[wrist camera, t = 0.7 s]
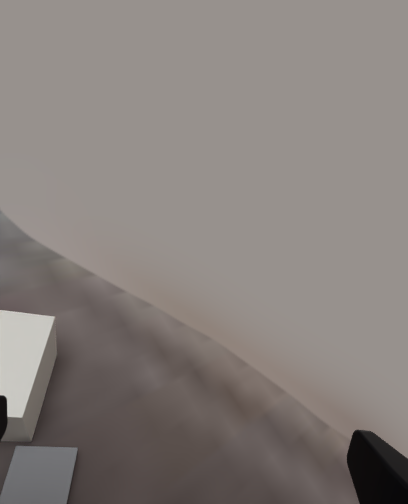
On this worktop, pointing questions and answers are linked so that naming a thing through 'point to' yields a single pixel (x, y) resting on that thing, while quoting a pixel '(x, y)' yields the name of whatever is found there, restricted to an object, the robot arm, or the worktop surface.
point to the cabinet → (30, 410)
